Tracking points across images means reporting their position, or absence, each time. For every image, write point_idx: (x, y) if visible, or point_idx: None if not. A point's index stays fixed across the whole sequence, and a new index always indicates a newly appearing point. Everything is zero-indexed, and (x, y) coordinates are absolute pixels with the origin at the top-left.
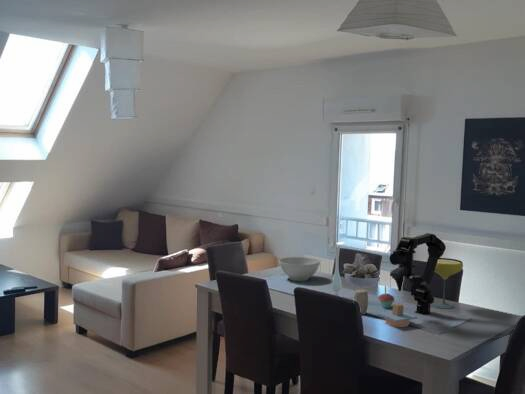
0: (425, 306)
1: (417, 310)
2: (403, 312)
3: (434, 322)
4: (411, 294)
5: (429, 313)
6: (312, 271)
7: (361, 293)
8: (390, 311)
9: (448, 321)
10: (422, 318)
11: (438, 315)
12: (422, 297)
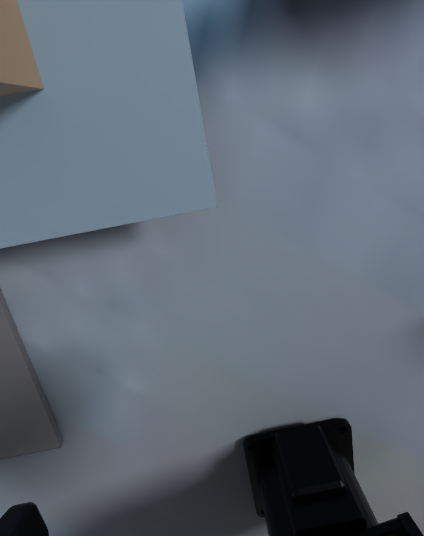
0: (272, 526)
1: (310, 440)
2: (78, 195)
3: (17, 430)
4: (3, 523)
5: (256, 495)
6: None
7: None
8: (162, 12)
9: (62, 530)
10: (175, 399)
11: (218, 530)
12: None
